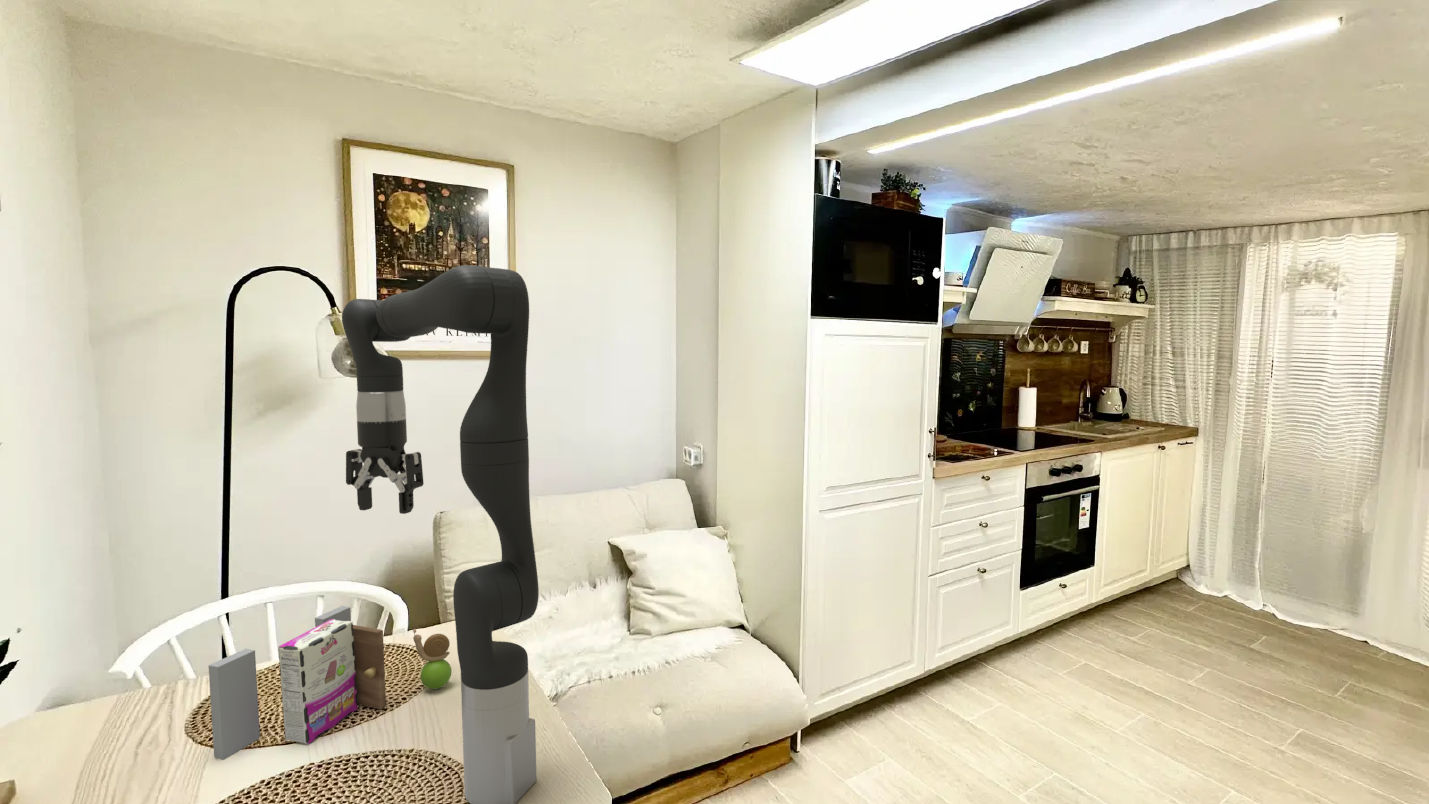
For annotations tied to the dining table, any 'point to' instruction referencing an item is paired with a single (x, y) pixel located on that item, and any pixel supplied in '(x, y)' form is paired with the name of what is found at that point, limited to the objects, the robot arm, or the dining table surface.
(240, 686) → the door frame
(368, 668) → the door
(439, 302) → the robot arm
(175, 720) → the dining table surface
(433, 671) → the snail figurine
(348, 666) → the candy bar box
